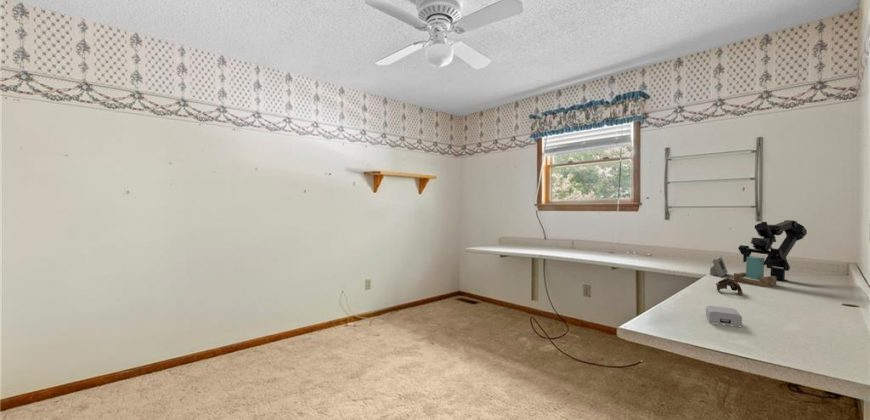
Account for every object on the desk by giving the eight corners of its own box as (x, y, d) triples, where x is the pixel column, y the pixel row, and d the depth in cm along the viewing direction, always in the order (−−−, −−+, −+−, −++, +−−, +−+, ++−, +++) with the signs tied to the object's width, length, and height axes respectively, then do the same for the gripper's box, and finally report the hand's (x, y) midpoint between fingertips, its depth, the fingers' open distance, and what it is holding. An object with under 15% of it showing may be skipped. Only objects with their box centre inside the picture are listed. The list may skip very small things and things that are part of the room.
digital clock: (722, 277, 215) (722, 259, 215) (704, 274, 223) (705, 257, 222) (733, 275, 224) (734, 257, 223) (716, 272, 231) (716, 255, 231)
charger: (733, 316, 141) (741, 328, 128) (703, 313, 146) (709, 323, 133) (733, 304, 141) (742, 315, 128) (703, 301, 146) (709, 311, 133)
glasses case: (751, 276, 205) (752, 256, 204) (763, 278, 200) (764, 257, 199) (745, 277, 202) (746, 256, 202) (757, 279, 197) (758, 258, 197)
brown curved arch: (741, 298, 171) (731, 282, 173) (720, 302, 178) (710, 287, 180) (749, 288, 178) (738, 272, 179) (728, 292, 185) (718, 278, 187)
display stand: (745, 279, 210) (746, 271, 210) (776, 284, 197) (776, 276, 197) (733, 281, 205) (733, 273, 205) (764, 286, 192) (764, 278, 192)
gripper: (740, 231, 210) (728, 251, 206) (781, 234, 193) (769, 255, 189) (748, 244, 214) (736, 264, 210) (789, 248, 197) (777, 270, 193)
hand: (753, 263), depth 200 cm, fingers open, 9 cm apart
